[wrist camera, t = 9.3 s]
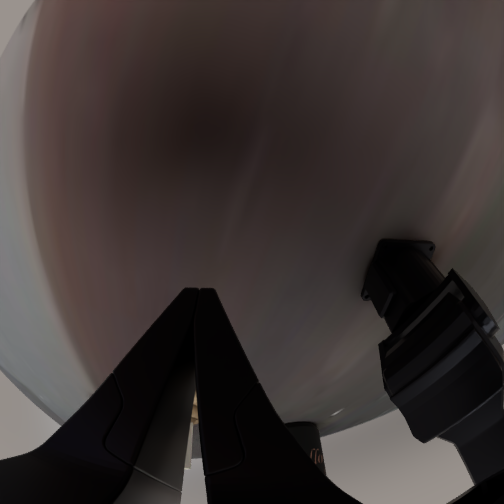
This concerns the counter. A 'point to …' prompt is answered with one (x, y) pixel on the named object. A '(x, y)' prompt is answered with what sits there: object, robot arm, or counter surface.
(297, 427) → the coffee jar
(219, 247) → the counter surface
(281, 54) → the counter surface
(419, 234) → the counter surface
